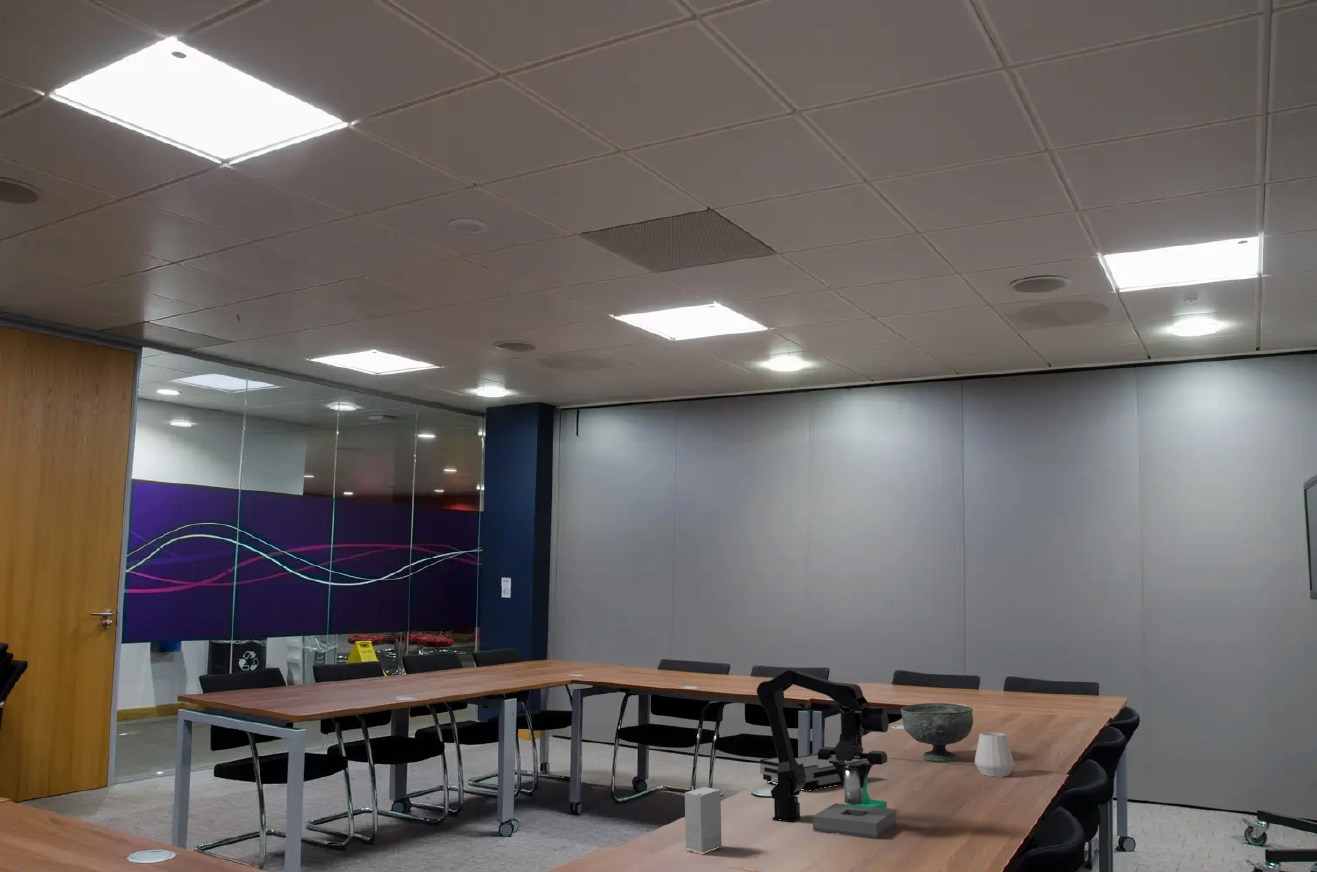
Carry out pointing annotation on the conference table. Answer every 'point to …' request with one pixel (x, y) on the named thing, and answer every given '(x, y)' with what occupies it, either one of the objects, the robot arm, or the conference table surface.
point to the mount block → (855, 820)
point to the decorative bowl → (938, 726)
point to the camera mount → (870, 800)
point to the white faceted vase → (994, 755)
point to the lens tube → (852, 783)
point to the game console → (807, 771)
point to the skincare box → (703, 819)
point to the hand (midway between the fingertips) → (853, 787)
